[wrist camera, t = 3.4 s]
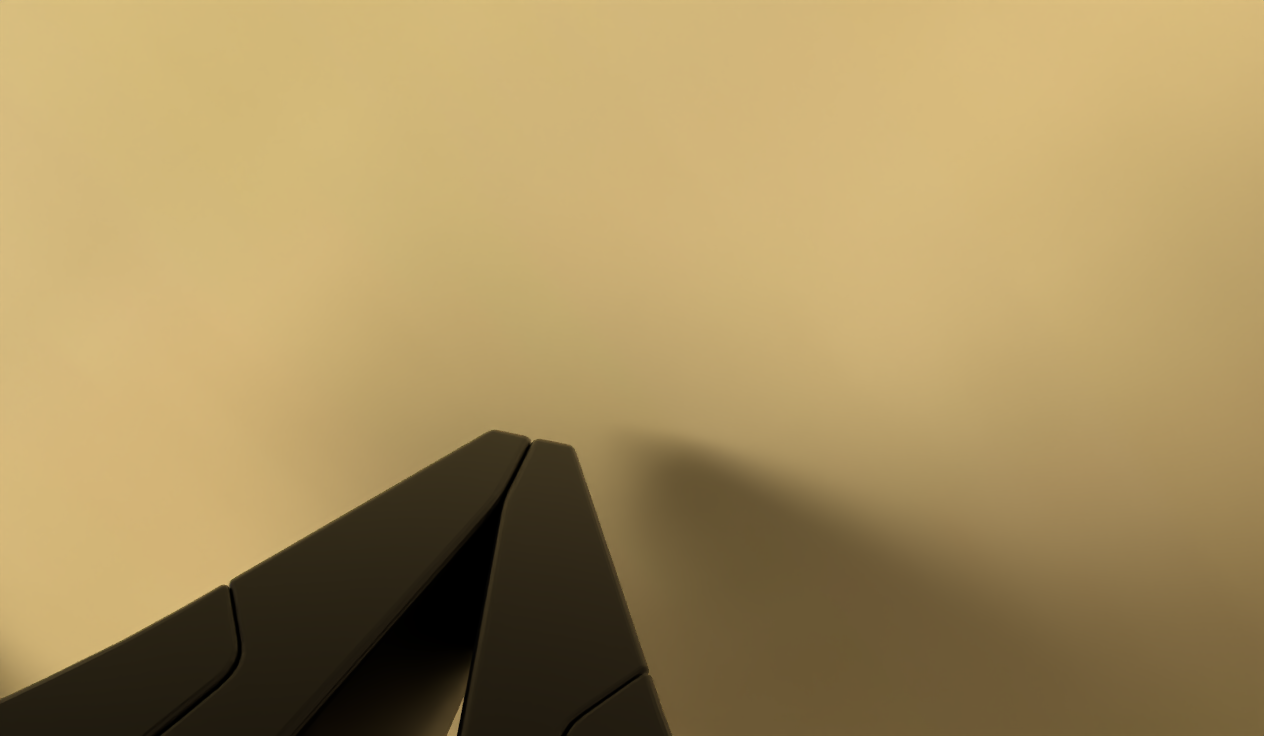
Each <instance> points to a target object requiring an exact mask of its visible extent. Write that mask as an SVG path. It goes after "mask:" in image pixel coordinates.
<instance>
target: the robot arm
mask: <svg viewBox="0 0 1264 736" xmlns="http://www.w3.org/2000/svg"><path fill="white" fill-rule="evenodd" d="M648 673H649V669H648V666H647V663H646V660H645V657H644V654H643V651H642V648H641V645H640V642H639V639H638V636H637V633H636V630H635V627H634V624H633V621H632V618H631V615H630V612H629V609H628V606H627V603H626V600H625V597H624V594H623V591H622V588H621V585H620V582H619V579H618V576H617V573H616V570H615V567H614V564H613V561H612V558H611V555H610V552H609V549H608V546H607V544H606V541H605V538H604V535H603V532H602V529H601V526H600V523H599V520H598V517H597V514H596V511H595V508H594V505H593V502H592V499H591V496H590V493H589V490H588V487H587V484H586V481H585V478H584V475H583V472H582V469H581V466H580V463H579V460H578V457H577V454H576V451H575V449H574V448H573V447H572V446H570V445H567V444H562V443H557V442H552V441H547V440H542V439H537V440H534V441H533V442H532V443H531V440H530V439H529V438H528V437H526V436H523V435H518V434H513V433H508V432H504V431H499V430H491V431H488V432H486V433H485V434H483V435H481V436H479V437H478V438H476V439H474V440H472V441H471V442H469V443H467V444H465V445H464V446H462V447H460V448H459V449H457V450H455V451H453V452H452V453H450V454H448V455H446V456H445V457H443V458H441V459H440V460H438V461H436V462H434V463H433V464H431V465H429V466H427V467H426V468H424V469H422V470H420V471H419V472H417V473H415V474H414V475H412V476H410V477H408V478H407V479H405V480H403V481H401V482H400V483H398V484H396V485H394V486H393V487H391V488H389V489H388V490H386V491H384V492H382V493H381V494H379V495H377V496H375V497H374V498H372V499H370V500H369V501H367V502H365V503H363V504H362V505H360V506H358V507H356V508H355V509H353V510H351V511H349V512H348V513H346V514H344V515H343V516H341V517H339V518H337V519H336V520H334V521H332V522H330V523H329V524H327V525H325V526H323V527H322V528H320V529H318V530H317V531H315V532H313V533H311V534H310V535H308V536H306V537H304V538H303V539H301V540H299V541H298V542H296V543H294V544H292V545H291V546H289V547H287V548H285V549H284V550H282V551H280V552H278V553H277V554H275V555H273V556H272V557H270V558H268V559H266V560H265V561H263V562H261V563H259V564H258V565H256V566H254V567H252V568H251V569H249V570H247V571H246V572H244V573H242V574H240V575H239V576H237V577H235V578H233V579H232V580H231V581H230V583H229V587H228V586H227V585H221V586H219V587H217V588H215V589H214V590H212V591H210V592H209V593H207V594H205V595H203V596H202V597H200V598H198V599H196V600H195V601H193V602H191V603H189V604H188V605H186V606H184V607H182V608H181V609H179V610H177V611H175V612H173V613H171V614H170V615H168V616H166V617H164V618H162V619H160V620H159V621H157V622H155V623H153V624H151V625H149V626H148V627H146V628H144V629H142V630H140V631H138V632H137V633H135V634H133V635H131V636H129V637H128V638H126V639H124V640H122V641H120V642H118V643H116V644H114V645H112V646H110V647H108V648H106V649H104V650H102V651H100V652H98V653H96V654H94V655H92V656H90V657H87V658H85V659H83V660H81V661H79V662H77V663H75V664H73V665H71V666H69V667H67V668H65V669H63V670H61V671H59V672H57V673H55V674H53V675H51V676H49V677H47V678H45V679H43V680H41V681H38V682H36V683H34V684H32V685H30V686H28V687H26V688H24V689H21V690H19V691H17V692H15V693H13V694H11V695H9V696H7V697H4V698H2V699H0V736H447V734H448V731H449V729H450V727H451V724H452V722H453V720H454V718H455V715H456V713H457V711H458V708H459V706H460V704H461V702H462V699H463V697H464V702H463V707H462V712H461V718H460V723H459V728H458V733H457V736H672V733H671V731H670V728H669V725H668V723H667V720H666V718H665V715H664V712H663V710H662V707H661V704H660V701H659V698H658V695H657V692H656V689H655V686H654V683H653V680H652V677H651V676H650V675H648ZM464 695H465V696H464Z"/></svg>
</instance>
